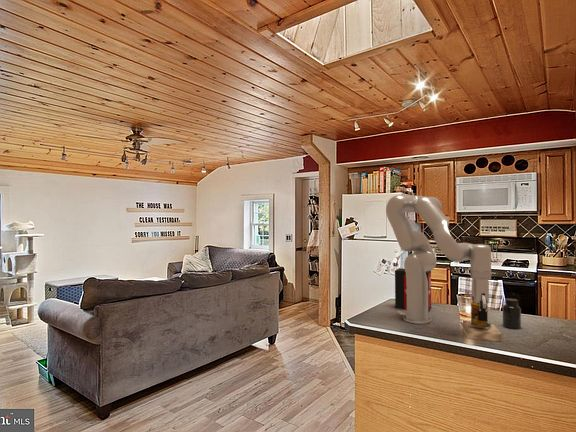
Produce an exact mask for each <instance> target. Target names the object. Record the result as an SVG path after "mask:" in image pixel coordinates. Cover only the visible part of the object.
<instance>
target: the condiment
mask: <svg viewBox="0 0 576 432" xmlns="http://www.w3.org/2000/svg"><path fill="white" fill-rule="evenodd" d="M480 303H482V302H480ZM488 307H489V305H488V304H487V321H479V320H478V310H479V305H478V303H477V304H476V303H475V302H474V297H473V296H472V298H471V302H470V308H471V309H470V322H469V323H470V324H469V326H473V327H479V328H486V329H488V328H489V327H490V325H491V324H493V323H491V322H489V321H488V318H489V317H488V316H489V315H488V313H489V312H488V311H489V309H488Z"/></svg>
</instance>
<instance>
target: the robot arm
mask: <svg viewBox="0 0 576 432" xmlns="http://www.w3.org/2000/svg"><path fill="white" fill-rule="evenodd" d="M442 209H443V205H442V201H441V200H440V199H439V198H437V197H435V196H422V195H414V194H413V195H412V194H397V195H393V196H392V197H391V198H390V199H388V202H387V204H386V207H385V214H386V217H387V219H388V222H389V225H390V226H391V228H392V231H393V233H394V236H395V238H396V241H397V243H398V245H399V247H400V249H401V250H403V252H412V253H410V254H409V255H407V256H406V257H405V258H404V259H405V260H404V263H403V264H404V265H403V266H404V269H405V272H406V287H407V308H406V310H404V309H403V310H402V309H396V314H397V315H399V316H403V320H404V321H405V322H406V323H411V324H414V325H415V324H417V325H427V324H431V323H432V322H433V318H432V317H430V316H429V312H428V280H427V276H426V272H427V271H430V270H431V271H433V270H434V269H435V268H436V266H437V258H436V254H435V252H434V250H433V248H432V246H431V243H430V241H429V239H428V237H427V236H426V234H424V232H422V231H419V230H414V229H413V227H412V225H411V221H409V219H408V218H407V217H406V215H405V213H416V214H418V215H419V216H420V217H421V219H422V220H423V222H424V223H425V224H426V226H427V227H429V229H430V230H431V232H432V236H433V239H434V241H435V243H436V245H437V247H438V248H439V250H440V251H441V252H442V254H443V255H444V256H445V257H446V258H447V259H448V260H449V261H451V262H454V263H455V262H456V263H458V262H462V261H463V262H464V261H469V262H470V267H469V268H470V269H469V270H470V273H469V274H470V278H471V294H470V295H471V296H470V297H471V299H472V296H473V297H474V302H475V303H476V304H477V303H478V305H479V310H478V320H479V321H487V305H488V304H489V303H490V288H489V287H490V284H489V281H490V280H492V247H491V246H490V245H488V244H479V243H477V244H474V243H469V242H457V240H455V239H454V237H453V236H452V234H451V233H450V231H449V225H450V219H449V218H448V217H447V216H446V215H445V214H444V212H443V211H442ZM480 302H482V303H480Z"/></svg>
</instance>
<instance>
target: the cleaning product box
mask: <svg viewBox="0 0 576 432" xmlns="http://www.w3.org/2000/svg"><path fill="white" fill-rule="evenodd" d="M426 276H427V280H428V313H429V312H430V311H431V309H432V270H430V271H427V272H426ZM394 295H395V296H394V299H395V300H394V302H395V303H394V307H395V308H394V309H396V310H403V311H404V310H406V308H407V287H406V272H405V268H399V267H398V268H397V269H396V270H394Z"/></svg>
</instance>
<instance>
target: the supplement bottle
mask: <svg viewBox="0 0 576 432" xmlns="http://www.w3.org/2000/svg"><path fill="white" fill-rule="evenodd" d="M521 321H522V308H521V307H520V306H519V300H518V299H516V298H505V301H504V305H503V306H502V325H503V327H504V328H507V329H513V330H518V329H519V330H520V329H521V328H522V327H521V326H522V322H521Z"/></svg>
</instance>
